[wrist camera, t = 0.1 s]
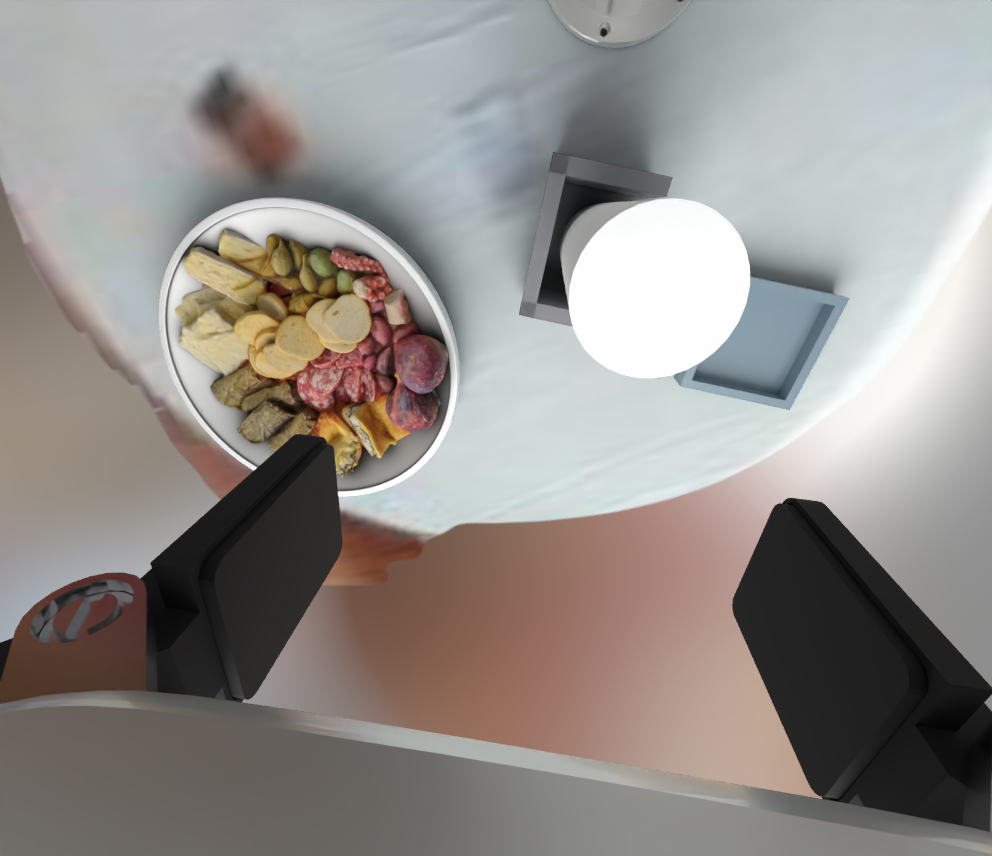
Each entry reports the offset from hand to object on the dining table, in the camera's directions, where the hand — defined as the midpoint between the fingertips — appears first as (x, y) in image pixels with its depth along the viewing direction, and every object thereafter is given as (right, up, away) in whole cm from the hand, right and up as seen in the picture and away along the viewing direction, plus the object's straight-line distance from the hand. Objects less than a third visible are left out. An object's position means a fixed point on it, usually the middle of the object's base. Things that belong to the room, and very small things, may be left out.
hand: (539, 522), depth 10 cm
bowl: (-19, +10, +39) cm, 45 cm away
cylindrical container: (+8, +18, +31) cm, 37 cm away
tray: (+23, +11, +33) cm, 42 cm away
